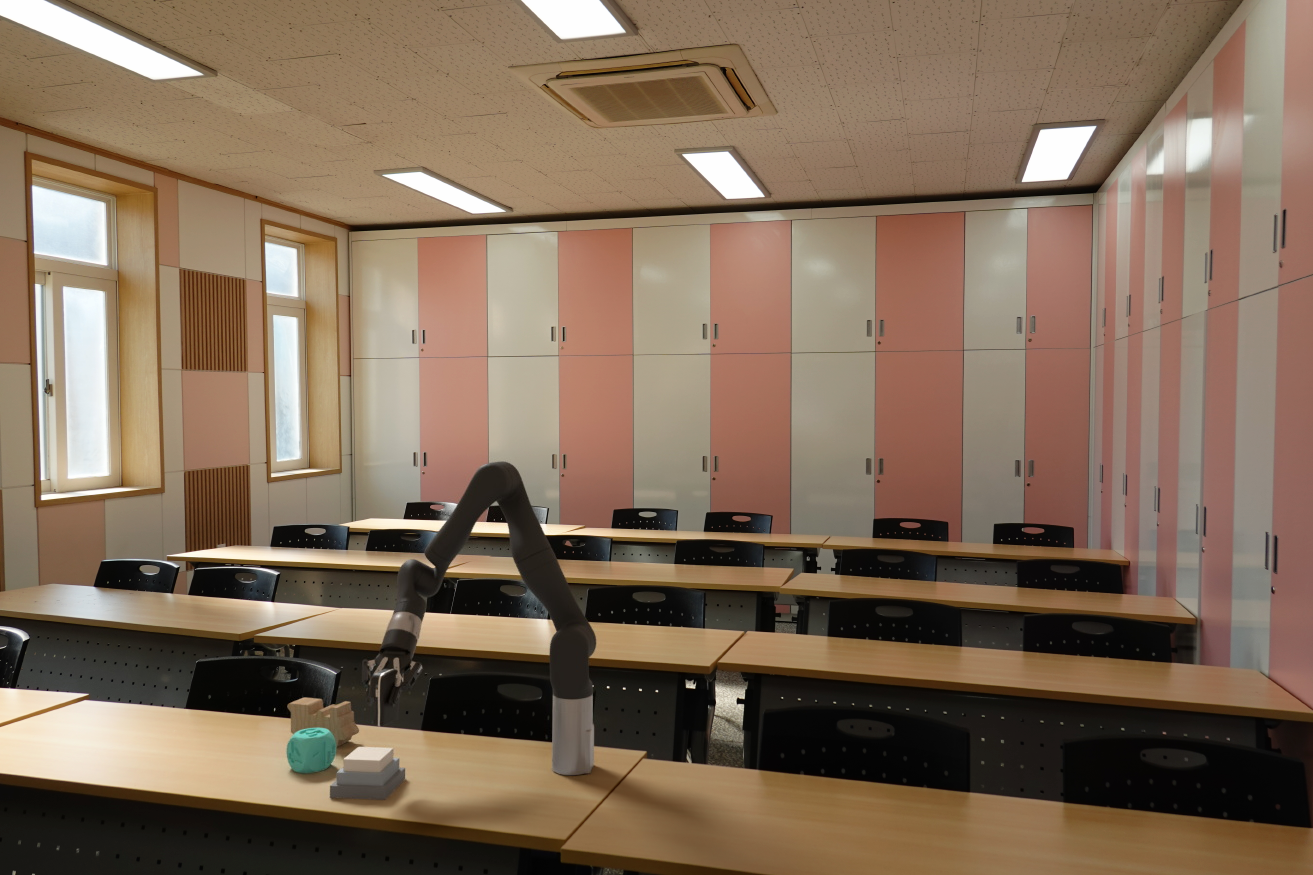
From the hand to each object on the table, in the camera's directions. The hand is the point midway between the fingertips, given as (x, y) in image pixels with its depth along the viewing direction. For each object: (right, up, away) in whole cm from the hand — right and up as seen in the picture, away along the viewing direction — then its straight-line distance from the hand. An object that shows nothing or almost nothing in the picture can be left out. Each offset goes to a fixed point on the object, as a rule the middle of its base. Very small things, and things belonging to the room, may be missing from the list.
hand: (380, 703), depth 199 cm
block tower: (-3, -18, 0) cm, 18 cm away
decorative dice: (-20, -18, +13) cm, 30 cm away
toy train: (-23, -18, +30) cm, 42 cm away
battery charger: (0, -5, +2) cm, 5 cm away
